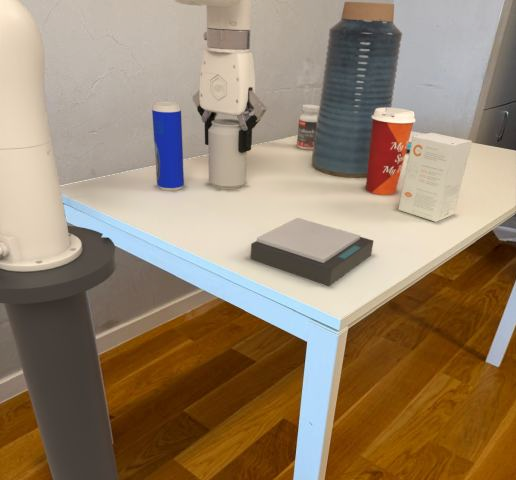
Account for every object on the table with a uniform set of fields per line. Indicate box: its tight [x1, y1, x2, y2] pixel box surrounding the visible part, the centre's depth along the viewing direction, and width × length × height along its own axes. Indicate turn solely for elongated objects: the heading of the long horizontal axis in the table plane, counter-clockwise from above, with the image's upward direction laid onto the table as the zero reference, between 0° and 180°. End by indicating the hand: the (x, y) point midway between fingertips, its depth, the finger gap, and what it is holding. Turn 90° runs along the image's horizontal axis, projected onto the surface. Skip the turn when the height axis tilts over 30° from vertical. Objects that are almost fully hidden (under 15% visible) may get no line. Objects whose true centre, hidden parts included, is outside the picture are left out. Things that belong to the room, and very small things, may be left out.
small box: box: [398, 132, 473, 223], centre depth 89 cm, size 8×6×13 cm
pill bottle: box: [296, 104, 319, 151], centre depth 128 cm, size 6×6×10 cm
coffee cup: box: [365, 107, 416, 196], centre depth 99 cm, size 8×8×15 cm
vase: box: [311, 1, 403, 178], centre depth 107 cm, size 16×16×32 cm
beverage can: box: [151, 101, 185, 192], centre depth 94 cm, size 5×5×15 cm
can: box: [207, 118, 248, 190], centre depth 98 cm, size 8×8×12 cm
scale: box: [250, 217, 374, 287], centre depth 73 cm, size 13×13×3 cm
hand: (227, 147), depth 97 cm, fingers closed on can, 7 cm apart
